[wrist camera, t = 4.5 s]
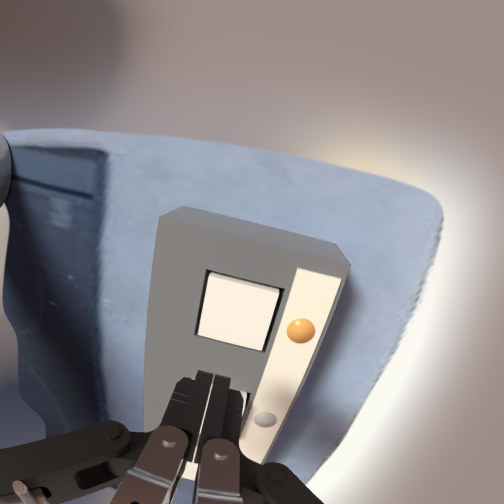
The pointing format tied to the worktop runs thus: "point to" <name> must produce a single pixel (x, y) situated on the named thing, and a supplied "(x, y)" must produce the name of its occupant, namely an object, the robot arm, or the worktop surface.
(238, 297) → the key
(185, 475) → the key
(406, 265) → the worktop surface
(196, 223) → the button board
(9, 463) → the robot arm
